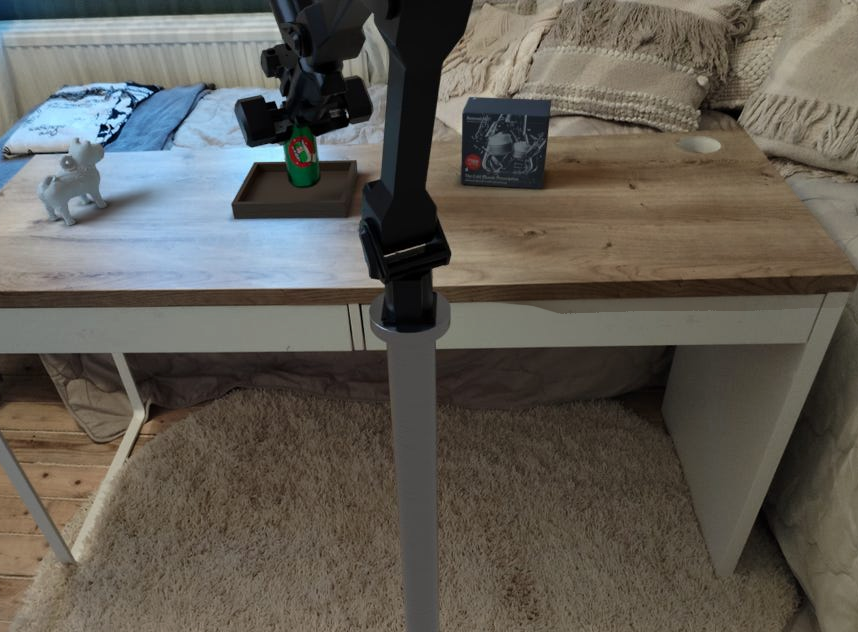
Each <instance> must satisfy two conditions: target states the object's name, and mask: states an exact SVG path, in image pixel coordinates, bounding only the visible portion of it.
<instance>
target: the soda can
mask: <svg viewBox="0 0 858 632" xmlns="http://www.w3.org/2000/svg"><path fill="white" fill-rule="evenodd" d="M279 108H283V107H282V103H280V104H279ZM288 120H289V119H288ZM286 132H287V134H288V137H289V141H288V142H286V143H285V144H284V145H282V150H283V156H284V162H285V163H286V169H287V176H288V182H289V183H290V184H291V185H292V186H293V187H296V188H310V187H313V186H315V185H317V184H318V183H319V181H320V179H321V173H320V165H319V161H320V156H319V148H318V141H317V137H316V132H315V125H312V126H307V127H303V128H298V129H297V126H296V124H295V125H291V126H287V128H286Z"/></svg>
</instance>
